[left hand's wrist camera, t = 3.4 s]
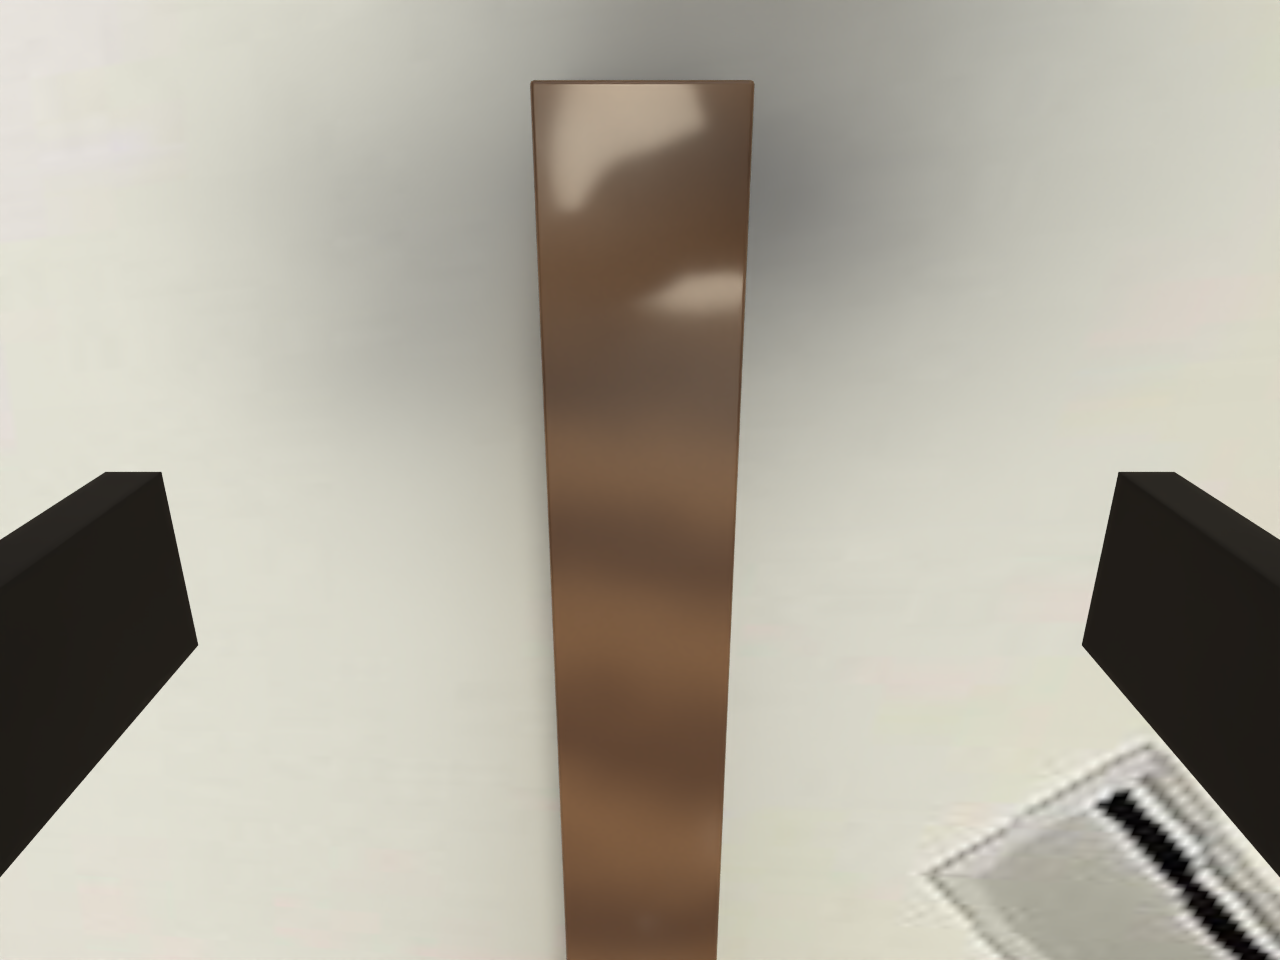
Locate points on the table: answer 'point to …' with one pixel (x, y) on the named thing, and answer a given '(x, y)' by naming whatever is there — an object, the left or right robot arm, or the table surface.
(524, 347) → the table surface
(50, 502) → the table surface
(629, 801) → the beam
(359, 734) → the table surface
